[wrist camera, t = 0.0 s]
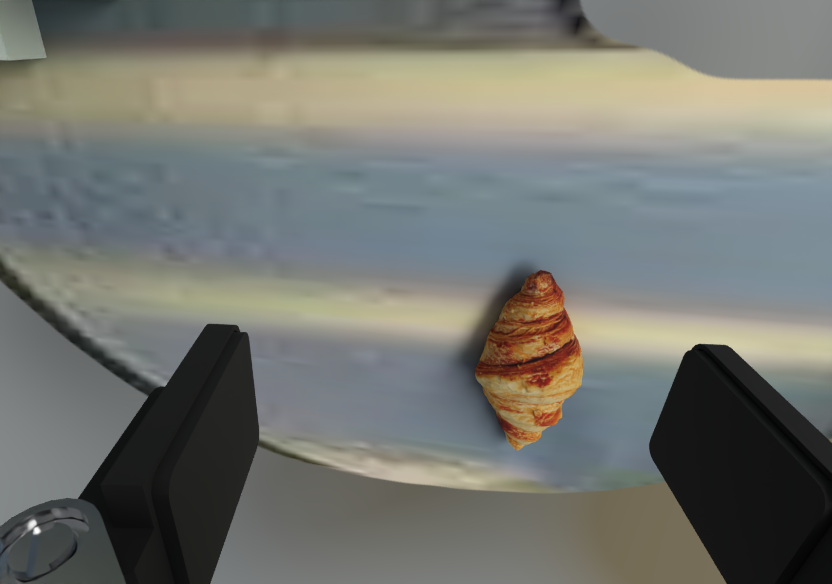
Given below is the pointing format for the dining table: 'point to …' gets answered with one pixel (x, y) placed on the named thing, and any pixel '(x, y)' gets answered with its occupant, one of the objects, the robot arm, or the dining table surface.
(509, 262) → the dining table surface
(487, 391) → the croissant
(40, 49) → the greygreen block
